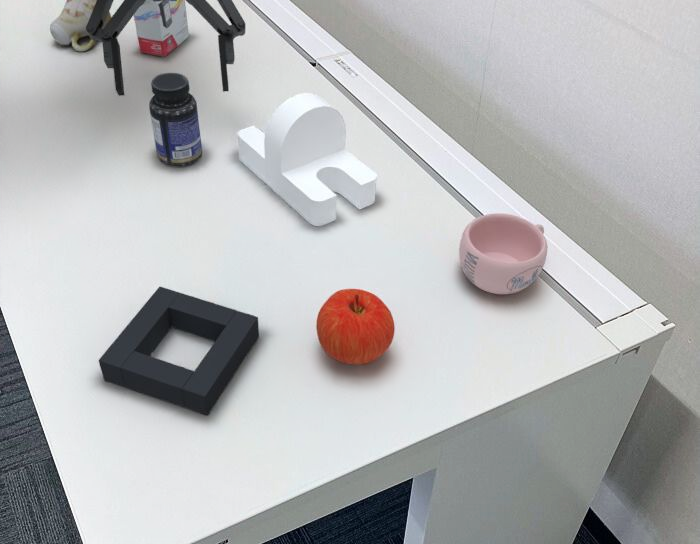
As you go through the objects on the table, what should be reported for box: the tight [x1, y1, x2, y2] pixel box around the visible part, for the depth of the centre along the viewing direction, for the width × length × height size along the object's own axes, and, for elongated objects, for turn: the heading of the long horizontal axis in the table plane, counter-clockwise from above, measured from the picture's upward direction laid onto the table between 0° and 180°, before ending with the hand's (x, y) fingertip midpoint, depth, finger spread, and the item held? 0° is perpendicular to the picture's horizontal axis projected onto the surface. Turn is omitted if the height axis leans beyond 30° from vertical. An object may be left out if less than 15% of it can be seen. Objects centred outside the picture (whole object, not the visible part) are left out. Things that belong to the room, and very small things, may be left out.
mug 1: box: [49, 0, 112, 52], centre depth 126 cm, size 8×10×10 cm
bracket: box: [237, 92, 378, 227], centre depth 99 cm, size 19×10×11 cm, turn 37°
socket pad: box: [98, 286, 260, 416], centre depth 80 cm, size 12×12×3 cm
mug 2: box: [458, 212, 548, 295], centre depth 90 cm, size 12×10×6 cm
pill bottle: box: [148, 72, 203, 168], centre depth 102 cm, size 6×6×11 cm
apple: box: [315, 288, 396, 366], centre depth 80 cm, size 8×8×8 cm
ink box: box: [133, 0, 190, 58], centre depth 123 cm, size 9×5×12 cm, turn 159°
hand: (173, 90), depth 101 cm, fingers open, 13 cm apart
